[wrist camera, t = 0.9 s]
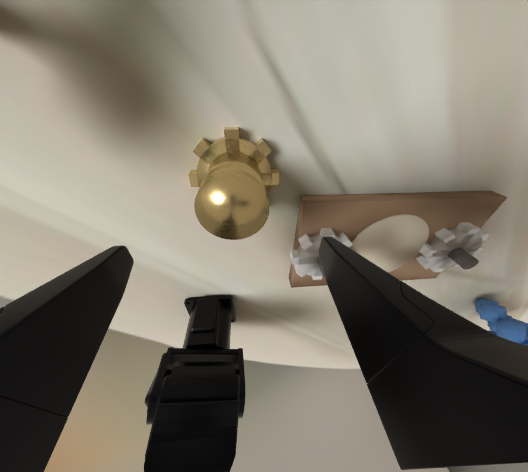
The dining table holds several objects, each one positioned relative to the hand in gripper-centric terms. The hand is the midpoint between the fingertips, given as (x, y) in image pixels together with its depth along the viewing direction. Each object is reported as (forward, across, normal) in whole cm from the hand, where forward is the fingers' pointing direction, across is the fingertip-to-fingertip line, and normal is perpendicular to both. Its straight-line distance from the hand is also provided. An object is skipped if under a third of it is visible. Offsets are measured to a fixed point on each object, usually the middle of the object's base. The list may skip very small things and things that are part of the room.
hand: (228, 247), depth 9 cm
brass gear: (+9, 0, 0) cm, 9 cm away
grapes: (+10, -41, +24) cm, 48 cm away
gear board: (+9, -16, +8) cm, 20 cm away
